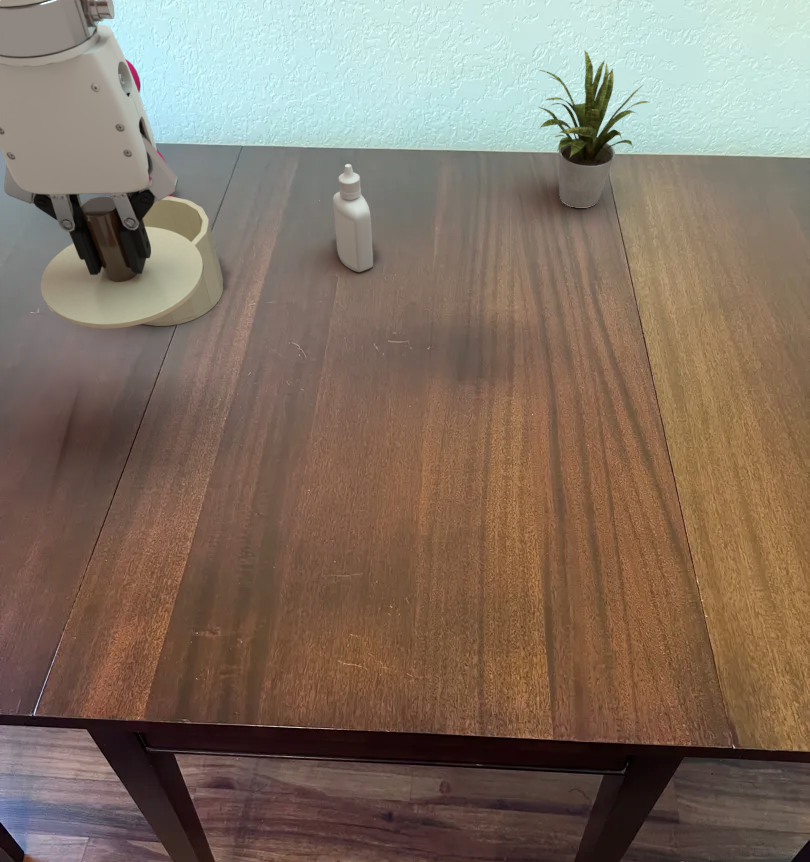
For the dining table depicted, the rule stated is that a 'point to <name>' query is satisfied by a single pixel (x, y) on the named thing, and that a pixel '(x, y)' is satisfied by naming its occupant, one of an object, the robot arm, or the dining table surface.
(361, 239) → the eye dropper bottle
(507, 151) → the dining table surface
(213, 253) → the pot
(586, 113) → the house plant
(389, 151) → the dining table surface
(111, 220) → the lid
